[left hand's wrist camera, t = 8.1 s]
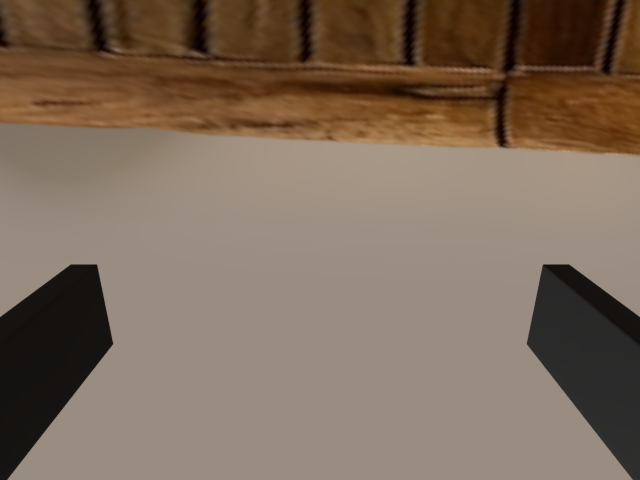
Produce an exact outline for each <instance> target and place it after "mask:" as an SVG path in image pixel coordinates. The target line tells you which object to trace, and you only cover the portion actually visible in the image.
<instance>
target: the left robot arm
mask: <svg viewBox="0 0 640 480" xmlns="http://www.w3.org/2000/svg"><path fill="white" fill-rule="evenodd" d="M112 345H113V341H112V336H111V331H110V326H109V321H108V316H107V311H106V306H105V302H104V297H103V292H102V287H101V282H100V277H99V272H98V267H97V265H70V266H68V267H67V268H66V269H64V270H63V271H62V272H60V273H59V274H58V275H56V276H55V277H54V278H52V279H51V280H50V281H48V282H47V283H45V284H44V285H43V286H41V287H40V288H39V289H37V290H36V291H35V292H33V293H32V294H31V295H29V296H28V297H27V298H25V299H24V300H23V301H21V302H20V303H19V304H17V305H16V306H15V307H13V308H12V309H11V310H9V311H8V312H7V313H5V314H4V315H2V316H1V317H0V480H7V479H8V478H9V477H10V475H11V474H12V473H13V472H14V470H15V469H16V468H17V466H18V465H19V464H20V463H21V461H22V460H23V459H24V457H25V456H26V455H27V454H28V452H29V451H30V450H31V448H32V447H33V446H34V445H35V443H36V442H37V441H38V439H39V438H40V437H41V436H42V434H43V433H44V432H45V431H46V429H47V428H48V427H49V425H50V424H51V423H52V422H53V420H54V419H55V418H56V417H57V415H58V414H59V413H60V411H61V410H62V409H63V408H64V406H65V405H66V404H67V402H68V401H69V400H70V399H71V397H72V396H73V395H74V393H75V392H76V391H77V390H78V388H79V387H80V386H81V385H82V383H83V382H84V381H85V379H86V378H87V377H88V376H89V374H90V373H91V372H92V370H93V369H94V368H95V367H96V365H97V364H98V363H99V361H100V360H101V359H102V358H103V356H104V355H105V354H106V353H107V351H108V350H109V349H110V347H111V346H112ZM527 345H528V346H529V347H530V349H531V350H532V351H533V353H534V354H535V355H536V356H537V358H538V359H539V360H540V361H541V363H542V364H543V365H544V367H545V368H546V369H547V370H548V372H549V373H550V374H551V376H552V377H553V378H554V379H555V381H556V382H557V383H558V384H559V386H560V387H561V388H562V390H563V391H564V392H565V393H566V395H567V396H568V397H569V399H570V400H571V401H572V402H573V404H574V405H575V406H576V408H577V409H578V410H579V411H580V413H581V414H582V415H583V417H584V418H585V419H586V420H587V422H588V423H589V424H590V425H591V427H592V428H593V429H594V431H595V432H596V433H597V434H598V436H599V437H600V438H601V440H602V441H603V442H604V443H605V445H606V446H607V447H608V448H609V450H610V451H611V452H612V454H613V455H614V456H615V457H616V459H617V460H618V461H619V463H620V464H621V465H622V466H623V468H624V469H625V470H626V471H627V473H628V474H629V475H630V477H631V478H632V479H633V480H640V317H639V316H638V315H636V314H635V313H634V312H632V311H631V310H630V309H628V308H627V307H625V306H624V305H623V304H621V303H620V302H619V301H617V300H616V299H615V298H613V297H612V296H611V295H609V294H608V293H607V292H605V291H604V290H603V289H601V288H600V287H599V286H597V285H596V284H595V283H593V282H592V281H591V280H589V279H588V278H586V277H585V276H584V275H582V274H581V273H580V272H578V271H577V270H576V269H574V268H573V267H572V266H570V265H543V267H542V272H541V277H540V282H539V287H538V292H537V297H536V301H535V307H534V312H533V316H532V321H531V326H530V331H529V336H528V341H527Z"/></svg>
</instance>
